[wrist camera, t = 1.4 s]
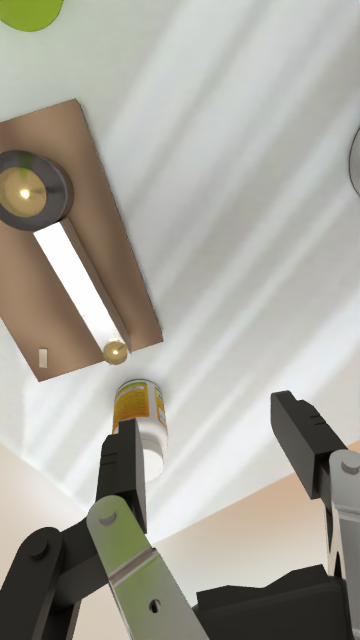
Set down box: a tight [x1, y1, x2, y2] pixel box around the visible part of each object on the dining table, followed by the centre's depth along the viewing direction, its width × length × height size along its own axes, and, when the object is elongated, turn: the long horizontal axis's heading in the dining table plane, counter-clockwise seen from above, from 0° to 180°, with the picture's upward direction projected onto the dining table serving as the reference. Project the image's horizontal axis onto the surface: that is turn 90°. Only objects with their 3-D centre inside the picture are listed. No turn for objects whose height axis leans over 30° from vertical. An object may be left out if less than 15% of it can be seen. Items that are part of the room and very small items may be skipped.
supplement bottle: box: [112, 380, 168, 482], centre depth 32 cm, size 5×5×10 cm
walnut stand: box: [0, 98, 163, 382], centre depth 28 cm, size 13×21×2 cm, turn 16°
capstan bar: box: [0, 150, 132, 365], centre depth 25 cm, size 17×5×5 cm, turn 21°
